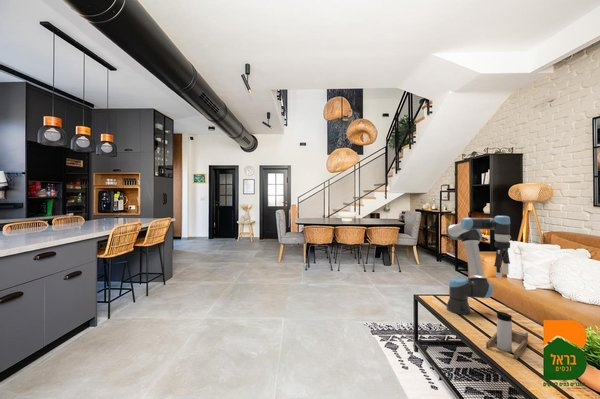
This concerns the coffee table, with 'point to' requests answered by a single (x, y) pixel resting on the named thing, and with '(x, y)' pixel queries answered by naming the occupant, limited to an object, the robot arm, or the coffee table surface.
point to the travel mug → (504, 332)
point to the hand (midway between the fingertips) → (502, 276)
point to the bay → (516, 337)
